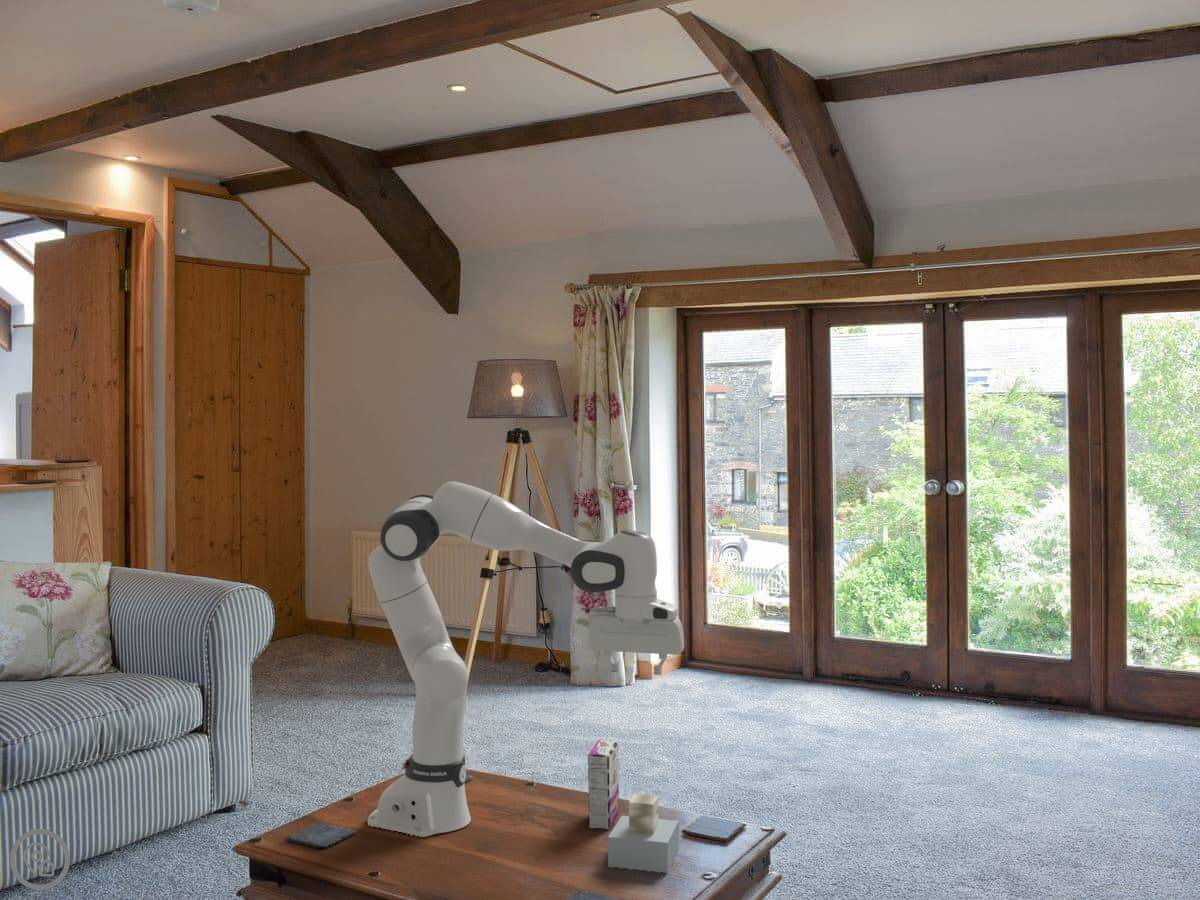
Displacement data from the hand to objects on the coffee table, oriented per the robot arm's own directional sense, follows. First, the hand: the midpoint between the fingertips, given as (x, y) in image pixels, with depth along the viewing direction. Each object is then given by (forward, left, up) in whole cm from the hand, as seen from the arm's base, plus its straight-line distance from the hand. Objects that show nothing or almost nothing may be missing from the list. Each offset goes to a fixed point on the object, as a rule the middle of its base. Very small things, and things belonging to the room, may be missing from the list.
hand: (635, 673), depth 229 cm
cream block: (+4, -10, -29) cm, 31 cm away
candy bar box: (-9, +8, -35) cm, 37 cm away
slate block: (+4, -10, -35) cm, 37 cm away
